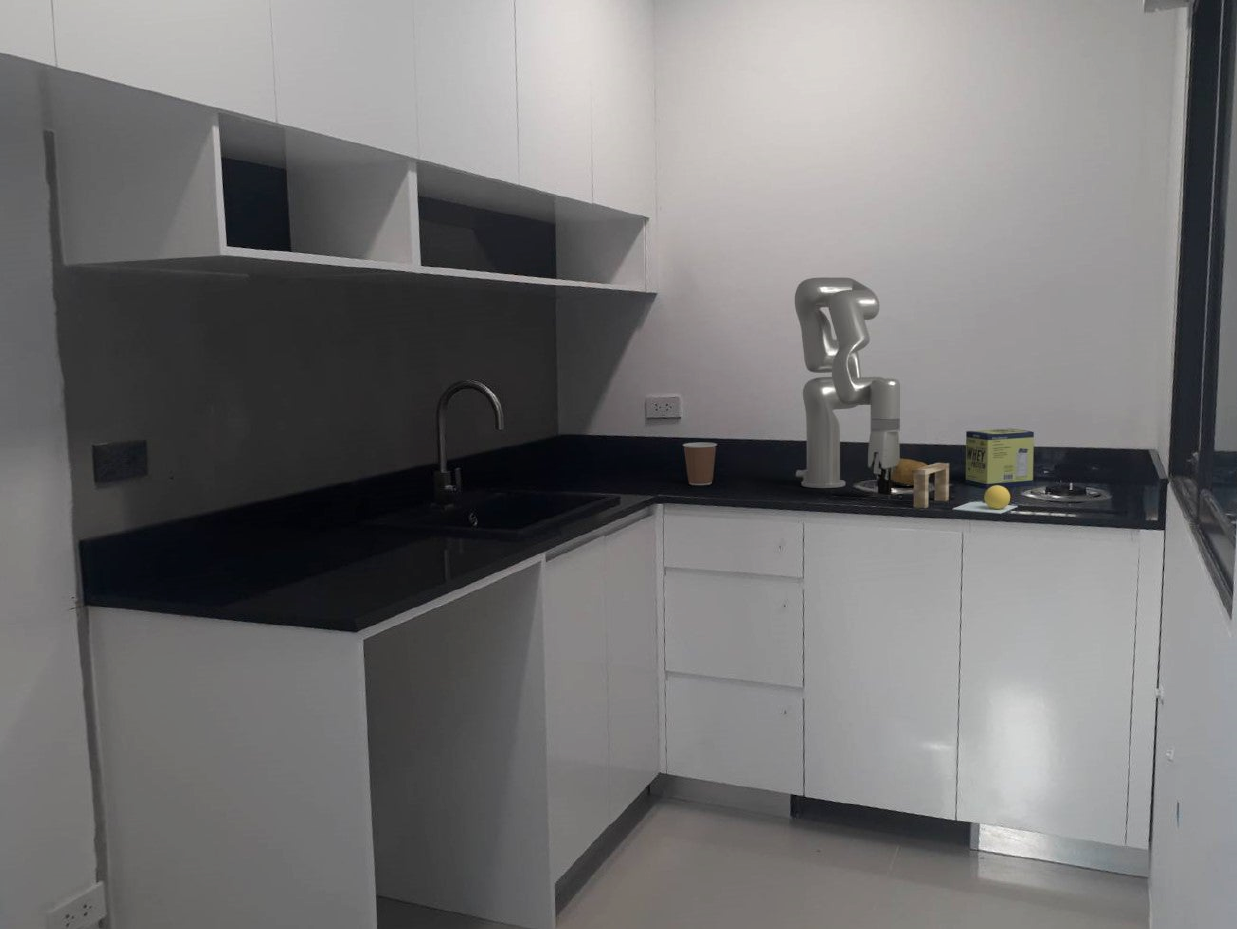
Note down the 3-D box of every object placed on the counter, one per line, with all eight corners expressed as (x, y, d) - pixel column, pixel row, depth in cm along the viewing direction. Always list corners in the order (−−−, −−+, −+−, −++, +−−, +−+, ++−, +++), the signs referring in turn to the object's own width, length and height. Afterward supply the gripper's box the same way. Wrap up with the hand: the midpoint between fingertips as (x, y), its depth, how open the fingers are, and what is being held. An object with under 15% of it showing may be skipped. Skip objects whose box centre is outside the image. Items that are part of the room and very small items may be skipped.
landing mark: (952, 509, 260) (952, 508, 260) (970, 502, 269) (970, 502, 269) (1000, 513, 253) (1000, 513, 253) (1017, 506, 262) (1017, 505, 262)
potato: (914, 491, 290) (915, 463, 289) (878, 485, 303) (878, 458, 302) (939, 488, 295) (940, 460, 294) (903, 482, 307) (903, 455, 306)
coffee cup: (723, 482, 318) (722, 443, 316) (707, 486, 309) (707, 446, 308) (693, 480, 323) (692, 441, 322) (677, 484, 315) (676, 445, 313)
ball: (1006, 510, 254) (982, 512, 258) (1015, 506, 259) (991, 508, 263) (1003, 485, 254) (979, 488, 258) (1011, 482, 259) (988, 485, 263)
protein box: (964, 484, 301) (965, 430, 299) (1010, 480, 306) (1011, 428, 304) (986, 489, 291) (987, 433, 289) (1034, 485, 296) (1035, 430, 294)
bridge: (913, 507, 265) (914, 469, 264) (937, 499, 277) (938, 462, 275) (924, 508, 263) (925, 470, 262) (948, 499, 275) (949, 463, 273)
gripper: (884, 422, 284) (884, 489, 286) (859, 427, 272) (858, 496, 275) (910, 423, 279) (910, 491, 281) (885, 428, 268) (885, 499, 270)
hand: (884, 493), depth 278 cm, fingers closed
